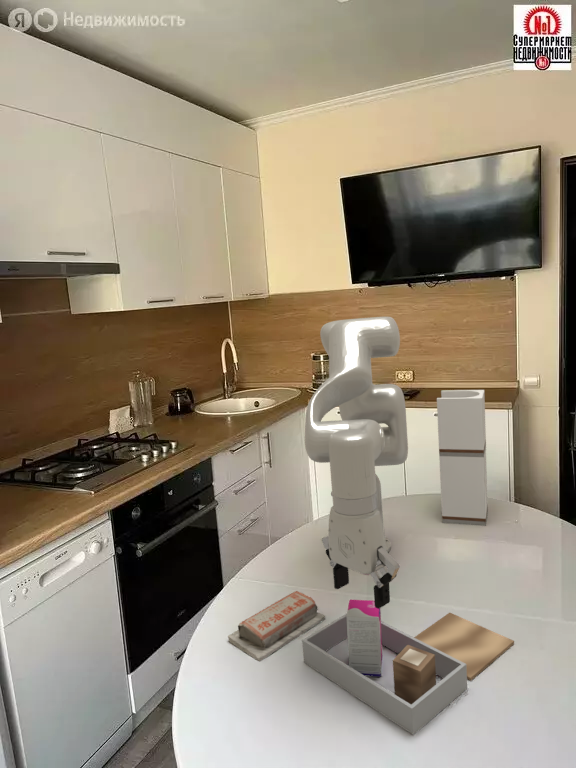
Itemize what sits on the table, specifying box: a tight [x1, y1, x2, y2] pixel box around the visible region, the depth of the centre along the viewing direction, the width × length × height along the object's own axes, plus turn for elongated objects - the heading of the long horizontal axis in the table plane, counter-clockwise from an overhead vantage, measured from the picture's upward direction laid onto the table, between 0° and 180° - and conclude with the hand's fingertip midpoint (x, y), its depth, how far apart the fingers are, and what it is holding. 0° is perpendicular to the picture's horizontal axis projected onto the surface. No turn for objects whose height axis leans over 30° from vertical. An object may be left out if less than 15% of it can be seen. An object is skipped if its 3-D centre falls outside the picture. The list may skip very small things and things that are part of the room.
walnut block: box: [392, 645, 437, 704], centre depth 98 cm, size 5×5×7 cm
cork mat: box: [413, 612, 515, 682], centre depth 110 cm, size 14×14×1 cm
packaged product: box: [227, 590, 326, 662], centre depth 120 cm, size 18×5×10 cm
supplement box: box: [346, 599, 383, 678], centre depth 106 cm, size 6×6×12 cm
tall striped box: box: [436, 389, 489, 527], centre depth 163 cm, size 11×11×35 cm
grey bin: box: [301, 612, 468, 735], centre depth 104 cm, size 25×14×4 cm, turn 40°
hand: (361, 595), depth 104 cm, fingers open, 9 cm apart
